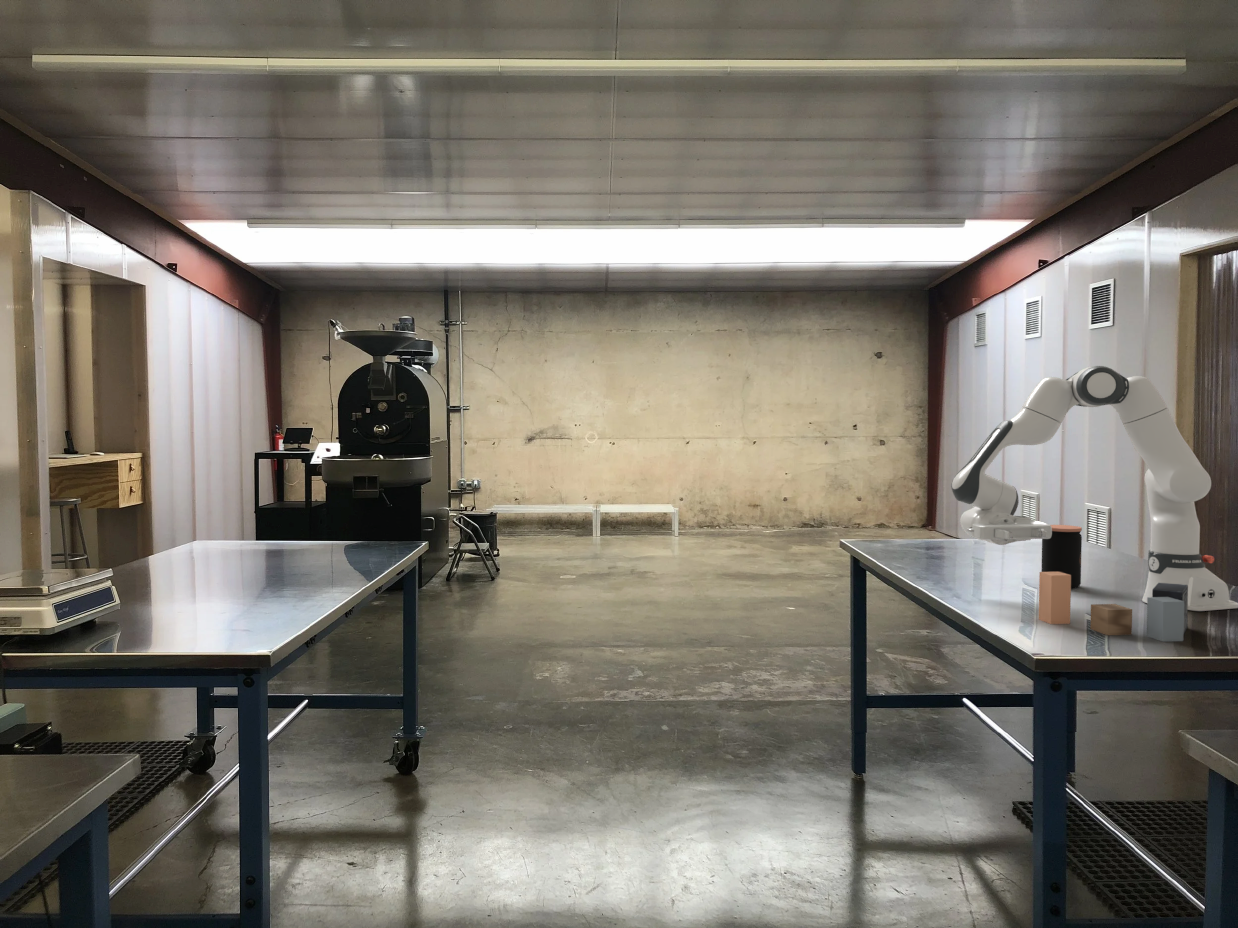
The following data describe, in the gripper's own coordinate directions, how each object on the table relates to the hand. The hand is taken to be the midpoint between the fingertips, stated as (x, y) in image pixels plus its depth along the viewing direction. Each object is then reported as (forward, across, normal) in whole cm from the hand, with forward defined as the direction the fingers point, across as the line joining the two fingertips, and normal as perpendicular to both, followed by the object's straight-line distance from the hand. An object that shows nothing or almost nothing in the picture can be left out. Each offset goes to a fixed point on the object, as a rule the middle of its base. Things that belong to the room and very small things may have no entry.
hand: (1027, 534), depth 217 cm
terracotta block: (+12, 0, +20) cm, 23 cm away
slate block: (+30, +15, +20) cm, 39 cm away
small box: (+23, +22, +20) cm, 38 cm away
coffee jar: (-32, +30, +20) cm, 48 cm away
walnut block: (+23, +7, +20) cm, 31 cm away
